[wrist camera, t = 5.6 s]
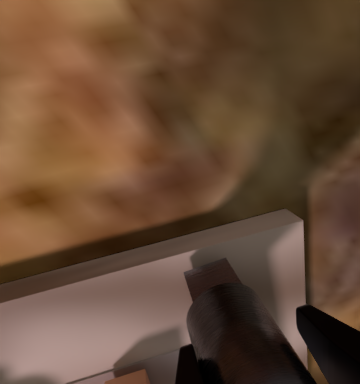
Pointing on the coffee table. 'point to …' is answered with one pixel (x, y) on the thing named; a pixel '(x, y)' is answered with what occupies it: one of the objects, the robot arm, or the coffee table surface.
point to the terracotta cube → (131, 378)
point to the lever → (237, 332)
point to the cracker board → (143, 303)
